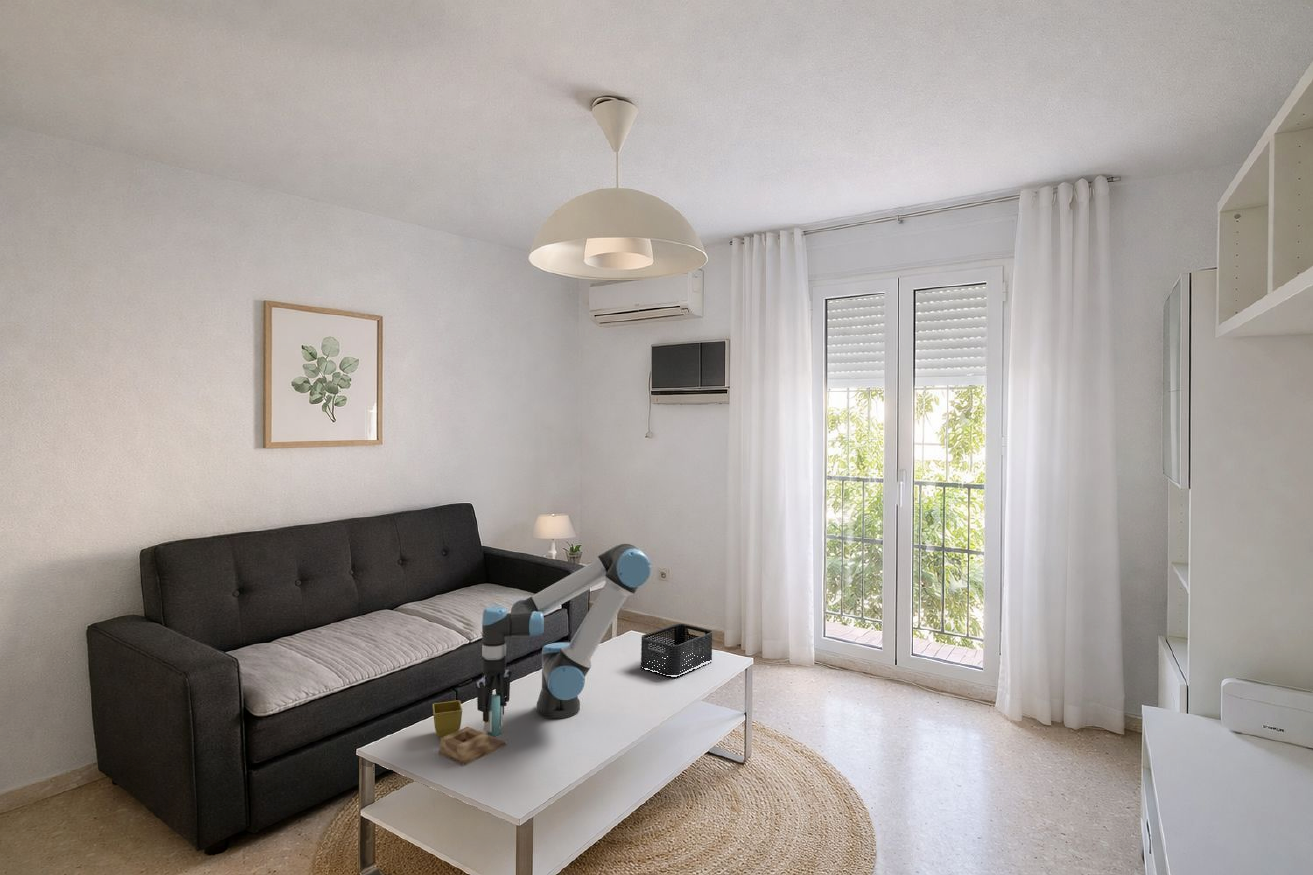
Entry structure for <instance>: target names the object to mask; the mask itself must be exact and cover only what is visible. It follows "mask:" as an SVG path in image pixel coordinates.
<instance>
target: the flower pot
mask: <svg viewBox="0 0 1313 875" xmlns="http://www.w3.org/2000/svg"><path fill="white" fill-rule="evenodd" d="M432 715H433V722H434V723H433V724H434V730H435V733H436V735H437V737H438V738H439V739H441V738H442V737H444V736H447V735H449V734H451V733H454V732H456V731H458V730H460V729H461V725H462V718H463V717H462V716H463V708H462V702H461V700H452V701H451V700H450V701H445V702H436V703H432Z"/></svg>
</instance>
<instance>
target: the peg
mask: <svg viewBox="0 0 1313 875" xmlns="http://www.w3.org/2000/svg"><path fill="white" fill-rule="evenodd" d="M490 711H492V732H488V731H486V734H488V735H490V736H493V737H497V736H499V735H500V733H501V727H500V695H498V694H496V693H495V694H493V693H492V699H491V706H490Z"/></svg>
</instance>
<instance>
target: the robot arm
mask: <svg viewBox="0 0 1313 875" xmlns="http://www.w3.org/2000/svg"><path fill="white" fill-rule="evenodd" d="M651 572H652V565H651V562H650V559H649V558H648V556H647V555H646V554H645V552H643V551H642V550H640V549H638V547H636V546H635V545H633V544H631V543H620V544H618V545H615V546H613V547H611V548H609V549H608V550H606V551H605V552H603V553H601V554H599V555H597V556H596V558H595V560H594V561H593V562H591V563H589V564H587V565H585V566H583V567H582V568H580V569H578V570H576V571H575V572H573V573H571V574H569V575H566V576H565V577H563V578H562V579H560V580H559V581H556V582H555V583H553V584H551V585H549V586H548V587H546V588H544V589H543V590H540V591H538V592H537V593H534V594H533V595H531V596H530V597H527V598H525V599H518V600H516V601H515V602H514V603H513V604H512V606H511V608H510V610H511V612H510V613H509V612H508V611H507V609H506V607H504V606H490V607H486V608H484V610H483V611H482V622H481V623H482V626H481V627H482V630H481V632H482V635H481V640H482V642H481V643H482V644H481V645H482V646H481V647H482V648H481V653H482V654H481V655H482V658H481V669H482V671H483V673H482V675H481V676H482V677H481V679H479V680H477V679H476V681H475V683H474V684H475V687H476V696H477V697H476V703H477V704H476V705H477V708H476V709H477V711H479V712H481V713H482V721H483V725H484V726H483V730H484V731H486V732H487V731H488V732H492V711H490V706H491V699H492V694H493V692H494V690H495V694H498V695H500V728H502V727H503V724H504V717H503V716H504V715H505V707H506V706H507V705H508V702H510V696H511V695H510V694H511V693H510V690H511V678H512V674H513V671H512V670H508V669H506V667H507V657H506V655H507V638H514V637H515V638H516V637H518V638H519V637H535V636H540V635H543V633H544V629H545V618H544V615H545V614H547V613H548V612H550V611H552V610H554V609H555V608H557V607H559V606H561V605H563V604H565V603H566V602H568V601H570V600H572V599H574V598H575V597H577V596H579V595H581V594H583V593H584V592H586V591H588V590H590V589H592V588H593V587H595V586H597V585H599V584H601V583H603V582H604V581H605V584H604V585H603V587H602V588H601V590H600V592H599V594H598V595H597V597H596V598H595V601H594V602H593V604H592V605H591V607H590V609H589V610H588V612H587V614H586V616H585V617H584V619H583V621H581V624H580V625H579V627H578V628H577V630H576V632H575V634H574V635H573V637H572V639H571V641H570V642H554V643H553V642H552V643H549V644H546V645H543V646H542V650H541V689H540V693H539V696H538V700H537V702H536V708H535V709H536V713H537V714H538V716H541V717H542V718H547V719H565V718H569V717H572V716H575V715H577V714H578V713H579V712H580V711H581V710H580V709H581V701H580V699H579V695H580V694H581V693H582V691H583V689H584V687H585V682H586V679H585V678H586V676H587V675H588V673H589V671H590V669H591V668H592V663H591V659H592V657H593V656H594V654H595V652H596V650H597V648H598V647H599V645H600V644H601V642H602V641H603V639H604V637H605V635H606V633H607V632H608V630H609V628H610V627H611V625H612V624H613V622H614V620H615V618H616V617H617V615H618V614H619V611H620V610H621V608H622V607H623V605H624V603H625V602H626V600H627V598H628V597H630V596H632V595H633V596H634V595H635V594H636V592H637V590H638V588H639V587H640V586H642V585H644V584H645V583H647V582H648V580H649V579H650V576H651Z"/></svg>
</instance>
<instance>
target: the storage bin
mask: <svg viewBox="0 0 1313 875" xmlns="http://www.w3.org/2000/svg"><path fill="white" fill-rule="evenodd" d="M689 630H690V631H691V630H692V631H695V632H700V633H704V634H703V635H701V636H700V635H696V634H693V633H690V631H689ZM683 652H684V653H683ZM692 653H693V654H692ZM690 654H691V655H690ZM640 655H641V656H640V667H641V666H642V667H643V668H648V669H650V670H653V671H654V670H655V671H658V672H659V673H662V674H665V675H679V674H681V673H683V672H685V671H687V670H689V669H691V668H694V667H696V666H698V665H700V664H701V663H704V662H706V661H710V660H712V661H713V630H711V629H707V628H702V627H699V626H694V625H690V624H686V623H675V624H673V625H672V624H671V625H669V626H666V627H663V628H660V629H657V630H654V631H651V632H648V633H645V634H643V635H641V649H640ZM688 655H689V656H688ZM694 655H695V656H694ZM667 656H668V657H667ZM686 656H687V657H686ZM697 656H698V657H697ZM703 656H704V657H703ZM662 657H663V658H662ZM701 657H702V658H701ZM664 658H666V659H664ZM692 658H693V659H692ZM684 659H685V660H684ZM690 659H691V660H690ZM654 660H655V661H654ZM688 660H689V661H688ZM649 661H650V662H649ZM657 661H658V662H657ZM686 661H687V662H686ZM703 661H704V662H703ZM652 662H653V663H652ZM647 663H648V664H647ZM664 663H665V664H664ZM686 663H687V664H686ZM659 664H660V665H659ZM684 664H685V665H684ZM690 664H691V665H690ZM654 665H655V666H654ZM662 665H663V666H662ZM682 665H683V666H682ZM688 665H689V666H688ZM657 666H658V667H657ZM692 666H693V667H692ZM652 667H653V668H652ZM664 668H665V669H664ZM659 669H660V670H659ZM684 669H685V670H684ZM682 670H683V671H682ZM680 671H681V672H680Z"/></svg>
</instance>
